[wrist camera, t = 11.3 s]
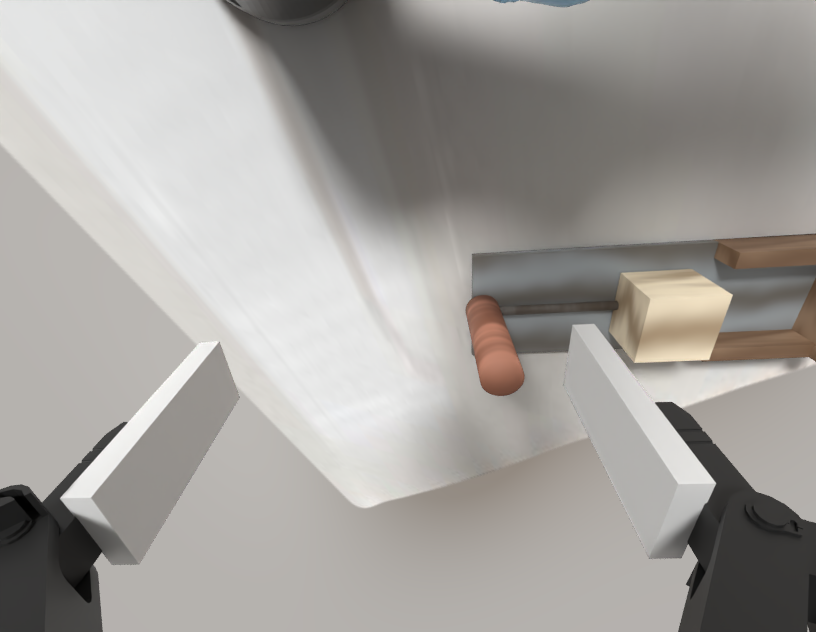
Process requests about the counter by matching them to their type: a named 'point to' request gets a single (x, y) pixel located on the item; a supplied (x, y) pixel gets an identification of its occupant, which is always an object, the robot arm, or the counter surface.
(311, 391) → the counter surface
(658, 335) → the rod with end block
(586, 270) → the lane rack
